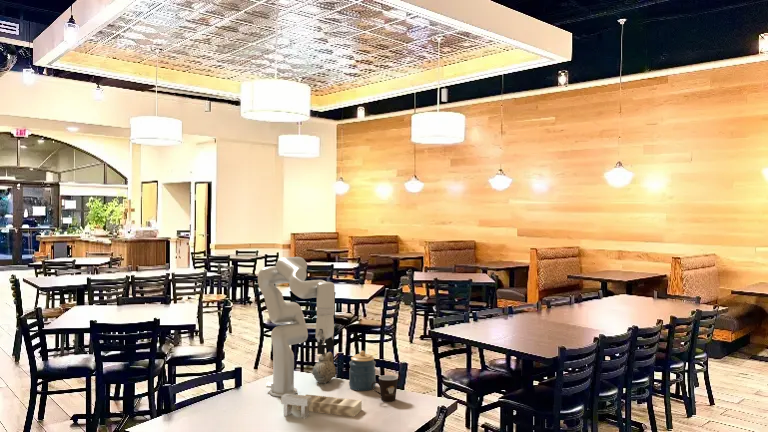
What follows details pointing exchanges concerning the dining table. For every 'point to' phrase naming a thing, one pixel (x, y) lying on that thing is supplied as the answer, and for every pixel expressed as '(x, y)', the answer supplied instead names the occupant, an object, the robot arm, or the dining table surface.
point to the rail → (334, 405)
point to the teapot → (324, 368)
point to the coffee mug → (387, 387)
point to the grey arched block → (296, 403)
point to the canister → (362, 372)
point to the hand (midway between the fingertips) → (325, 351)
